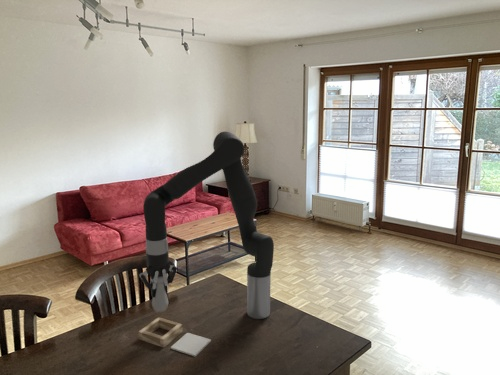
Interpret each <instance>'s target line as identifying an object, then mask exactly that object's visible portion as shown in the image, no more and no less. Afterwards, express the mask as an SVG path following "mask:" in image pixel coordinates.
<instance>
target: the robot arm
mask: <svg viewBox="0 0 500 375" xmlns="http://www.w3.org/2000/svg"><path fill="white" fill-rule="evenodd" d="M212 147H213V151H212V152H211V153H210V154H209V155H208V156H207V157H205V158H204V159H202V160H201V161H199V162H197V163H194V164H193V165H190V166H188V167H186V168H184V169H182V170H180V171H179V172H177V174H175V175H174V176H173V177H172V178H170V179H169V180H168V181H166V182H165V183H164V184H162V185H161V186H159V187H157V188H155V189H154V190H152V191H150V192H149V194H147V195H146V196H145V199H144V202H143V216H144V223H145V256H146V257H145V258H146V268H145V270H144V271H143V272H139V273H138V276H139V278H140V279H141V281H142V283H143V284H144V286H145V287H146V289H148V290H149V289H150V294H151V295H150V296H151V297H152V298H153V297H155V296H156V283H157V278H158V277H160V276H163V278H164V280H165V282H164V285H165V286H164V288H165V291H166V294H168V293H169V292H168V286H169V284H173V281H174V278H175V276H176V273H177V271H178V267H177V266H175V265H174V264H172V265H171V264H170V258H169V242H168V236H167V235H168V233H167V232H168V230H167V224H166V207H167V206H168V205H169V204H170V203H171V202H173V201H174V200H178V199H180V198H182V197H183V196H185V195H186V194H187V193H189V192H190V191H191V190H192V189H194V188H195V187H197V185H199V184H201V183H202V182H203V181H205V180H207V179H208V178H210V177H212V175H215V174H216V173H218V172H220V171H223V177H224V180H225V185H226V188H227V193H228V197H229V199H230V204H231V206H232V208H233V209H232V210H233V211H234V212H233V213H234V215H235V218H236V222H237V225H238V227H239V234H240V241H241V244H242V249H243V250H244V252H245V253H246V254H248V255H249V256H251V257H255V259H256V260H255V261H256V262H252V263H250V264H248V265H247V270H246V271H247V274H246V282H247V283H246V286H247V290H246V295H247V296H246V302H247V303H246V314H247V316H248V317H249V318H252V319H256V320H261V319H266V318H268V317H269V316H270V314H271V279H272V278H271V273H272V272H271V271H272V268H273V263H274V252H275V250H274V249H275V245H274V240H273V237H271V236H270V235H267V234H264V233H260V232H259V231H258V230H257V229H256V224H255V221H254V218H255V215H256V213H257V209H258V200H257V195H256V193H255V190H254V186H253V184H252V183H251V180H250V178H249V175H248V174H247V172H246V170H245V168H244V166H243V163H242V157H243V155H244V152H245V144H244V143H243V141H242V140H241V139H240V138H239V137H238V136H237V135H235V134H234V133H233V132H230V131H220V132H219V133H217V135H215V137H214V140H213V144H212ZM148 275H149V276H150V277H149V278H150V280H149V281H150V282H149V281H148V279H147V278H148ZM153 279H154V280H153Z"/></svg>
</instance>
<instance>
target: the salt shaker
mask: <svg viewBox="0 0 500 375" xmlns="http://www.w3.org/2000/svg"><path fill="white" fill-rule="evenodd" d="M153 280H154V279H153ZM164 282H165V280H164V278H163V276H160V277H158V278H157V283H156V296H155V297H152V299H151V300H152V301H151V305H152V306H151V307H152V309H153V310H154V312H156V313H162V312H165V311H166V310H167V309H168V306H169V299H168V295H167V294H168V293H167V294H166V291H165V288H164V286H165V285H164Z"/></svg>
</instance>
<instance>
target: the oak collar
mask: <svg viewBox="0 0 500 375" xmlns="http://www.w3.org/2000/svg"><path fill="white" fill-rule="evenodd" d="M159 328H160V329H163V330H167V331H168V332H166V333H165V334H164V335H159V334H156V333H154V332H155V331H156V330H158V329H159ZM183 329H184V328H183V324H182V323H180V322H176V321H172V320H169V319H166V318H162V317H159V316H158V317H157V318H155V319H154V320H153V321H151V322H150V323H149V324H147V325H146V326H145V327H143V328H141V329H140V330H139V331H138V340H140V341H143V342H146V343H148V344H152V345H153V346H158V347H161V348H165V347H167V345H169V344H170V343H171V342H172V341H174V339H176V338H177V337H178V336H180V335H181V333H183V331H184V330H183Z"/></svg>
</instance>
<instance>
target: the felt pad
mask: <svg viewBox="0 0 500 375" xmlns="http://www.w3.org/2000/svg"><path fill="white" fill-rule="evenodd" d="M211 342H212V339H210V338H207V337H205V336H204V337H203V336H200V335H198V334H194V333H190V332H186V333H185V334H184V335H182V337H180V339H179V340H177V341H176V342H175V343H174V344H172V345H171V346H170V349H171V350H174V351H176V352H179V353H183V354H186V355H189V356H192V357H197V356H198V355H199V354H200V353H201V352H202V351H203V350H204V349H205V348H206V346H208V345H209V343H211Z"/></svg>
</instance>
